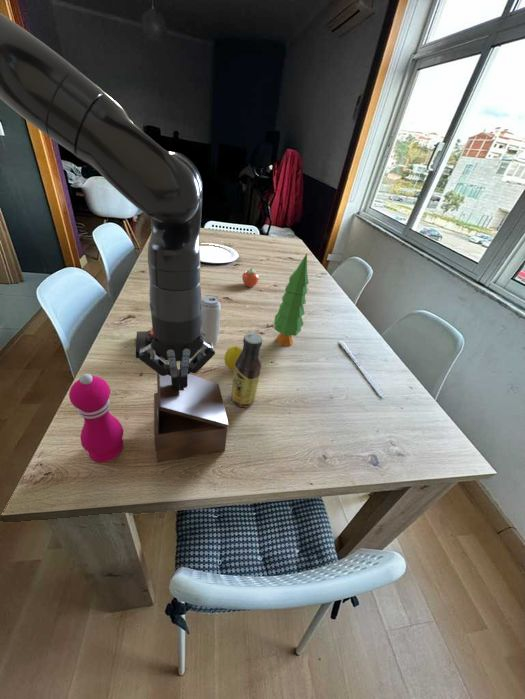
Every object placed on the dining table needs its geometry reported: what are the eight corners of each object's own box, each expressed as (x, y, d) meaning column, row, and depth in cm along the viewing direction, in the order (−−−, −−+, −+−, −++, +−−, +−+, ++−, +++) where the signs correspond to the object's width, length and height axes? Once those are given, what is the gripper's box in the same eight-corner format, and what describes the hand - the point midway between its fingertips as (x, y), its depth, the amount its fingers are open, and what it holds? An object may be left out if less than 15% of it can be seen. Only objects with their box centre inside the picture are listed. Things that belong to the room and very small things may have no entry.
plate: (246, 254, 163) (246, 250, 162) (225, 270, 140) (225, 267, 139) (198, 242, 168) (198, 239, 167) (170, 256, 144) (170, 252, 143)
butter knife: (345, 340, 104) (338, 340, 103) (387, 396, 83) (378, 396, 82) (344, 341, 104) (337, 341, 103) (386, 397, 84) (377, 398, 83)
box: (157, 462, 58) (154, 438, 53) (156, 417, 67) (153, 393, 62) (224, 451, 62) (227, 428, 58) (216, 410, 71) (217, 386, 66)
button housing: (136, 358, 82) (134, 346, 79) (137, 337, 89) (136, 326, 87) (180, 355, 85) (180, 344, 83) (178, 335, 93) (178, 325, 90)
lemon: (236, 361, 87) (239, 339, 82) (246, 372, 83) (249, 350, 79) (220, 366, 84) (221, 343, 79) (229, 378, 81) (231, 355, 76)
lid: (157, 409, 49) (160, 406, 49) (156, 365, 58) (159, 362, 58) (226, 427, 57) (228, 425, 57) (216, 386, 66) (218, 384, 66)
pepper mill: (87, 437, 60) (61, 363, 48) (125, 430, 63) (110, 358, 51) (84, 469, 55) (54, 394, 43) (126, 459, 58) (109, 387, 46)
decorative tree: (300, 338, 102) (323, 253, 84) (294, 353, 94) (318, 263, 77) (273, 330, 103) (290, 245, 86) (266, 344, 96) (283, 254, 78)
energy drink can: (197, 336, 94) (198, 294, 85) (216, 335, 96) (218, 294, 87) (200, 348, 89) (201, 304, 80) (220, 346, 91) (223, 304, 83)
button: (150, 340, 83) (149, 335, 82) (150, 332, 86) (149, 327, 85) (165, 339, 84) (164, 334, 83) (164, 332, 87) (164, 327, 86)
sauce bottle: (228, 392, 76) (234, 328, 64) (251, 389, 78) (261, 327, 66) (233, 411, 71) (242, 346, 60) (258, 408, 73) (270, 344, 62)
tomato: (260, 285, 132) (263, 268, 127) (252, 290, 127) (255, 273, 122) (246, 280, 134) (248, 263, 130) (238, 285, 129) (239, 268, 124)
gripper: (215, 295, 50) (211, 371, 60) (131, 296, 46) (142, 377, 56) (223, 319, 44) (217, 398, 55) (128, 321, 40) (141, 406, 50)
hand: (179, 387), depth 55 cm, fingers closed
